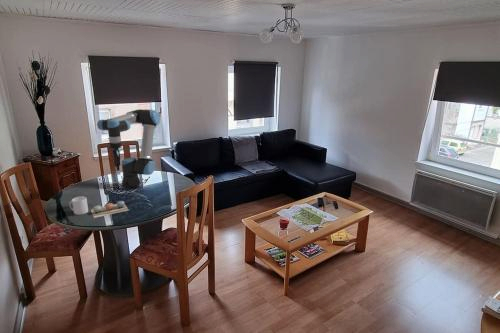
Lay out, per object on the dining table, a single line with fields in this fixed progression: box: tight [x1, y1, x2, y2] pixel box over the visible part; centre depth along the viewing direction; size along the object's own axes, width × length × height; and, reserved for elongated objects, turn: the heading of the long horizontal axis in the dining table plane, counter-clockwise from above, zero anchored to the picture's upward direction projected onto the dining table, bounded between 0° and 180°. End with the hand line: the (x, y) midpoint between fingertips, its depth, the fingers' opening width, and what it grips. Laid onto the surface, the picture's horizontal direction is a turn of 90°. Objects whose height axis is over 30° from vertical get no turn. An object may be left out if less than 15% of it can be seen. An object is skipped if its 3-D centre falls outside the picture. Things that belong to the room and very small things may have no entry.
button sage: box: [92, 204, 102, 214], centre depth 209 cm, size 5×5×4 cm
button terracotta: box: [104, 202, 114, 211], centre depth 213 cm, size 5×5×4 cm
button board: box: [90, 203, 130, 219], centre depth 213 cm, size 15×22×1 cm
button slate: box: [116, 200, 126, 209], centre depth 217 cm, size 5×5×4 cm
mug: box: [69, 195, 89, 216], centre depth 208 cm, size 9×12×11 cm
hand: (118, 174), depth 221 cm, fingers closed
